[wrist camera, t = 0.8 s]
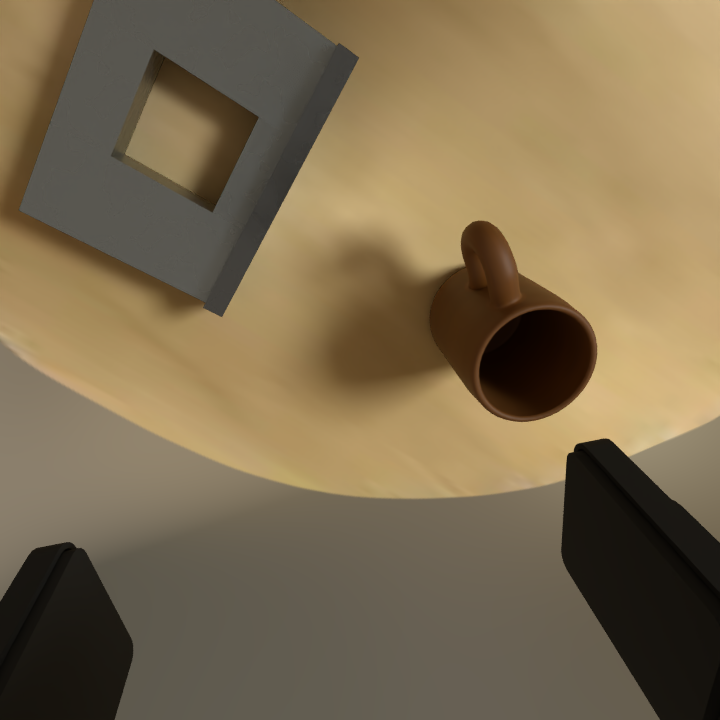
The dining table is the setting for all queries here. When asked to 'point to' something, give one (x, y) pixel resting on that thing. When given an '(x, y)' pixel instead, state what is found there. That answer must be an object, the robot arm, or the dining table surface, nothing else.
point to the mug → (510, 333)
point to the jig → (152, 190)
